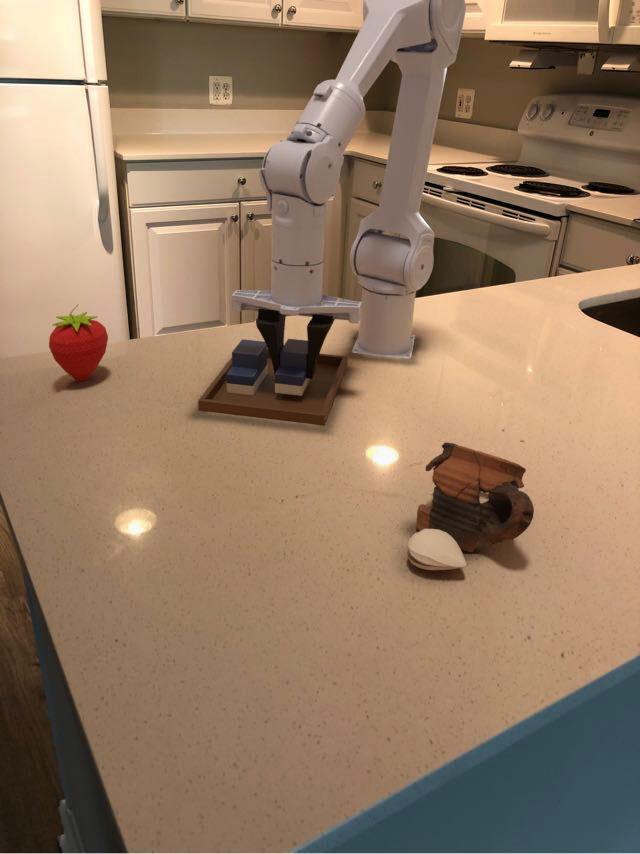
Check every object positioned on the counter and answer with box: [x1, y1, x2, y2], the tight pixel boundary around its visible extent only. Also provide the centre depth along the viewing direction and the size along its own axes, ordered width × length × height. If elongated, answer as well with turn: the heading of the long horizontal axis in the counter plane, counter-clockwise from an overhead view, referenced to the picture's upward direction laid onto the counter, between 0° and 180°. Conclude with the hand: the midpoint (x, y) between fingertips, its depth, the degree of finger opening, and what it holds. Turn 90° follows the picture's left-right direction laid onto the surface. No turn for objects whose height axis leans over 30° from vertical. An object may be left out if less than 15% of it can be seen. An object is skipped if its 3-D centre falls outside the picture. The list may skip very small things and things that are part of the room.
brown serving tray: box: [197, 348, 349, 426], centre depth 85 cm, size 17×14×2 cm
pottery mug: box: [415, 441, 535, 553], centre depth 61 cm, size 12×10×8 cm
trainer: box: [275, 338, 310, 396], centre depth 83 cm, size 7×3×4 cm, turn 170°
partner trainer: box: [227, 338, 268, 396], centre depth 85 cm, size 7×3×4 cm, turn 170°
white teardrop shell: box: [406, 529, 467, 571], centre depth 57 cm, size 4×5×2 cm
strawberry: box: [48, 303, 109, 382], centre depth 83 cm, size 6×8×10 cm
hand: (294, 373), depth 84 cm, fingers closed on trainer, 3 cm apart
